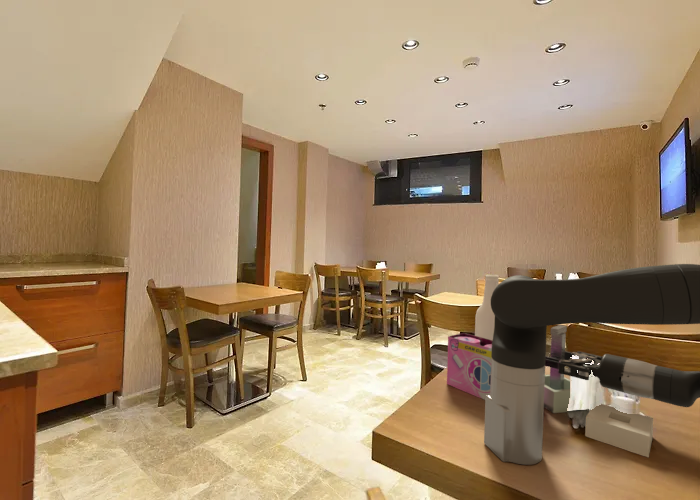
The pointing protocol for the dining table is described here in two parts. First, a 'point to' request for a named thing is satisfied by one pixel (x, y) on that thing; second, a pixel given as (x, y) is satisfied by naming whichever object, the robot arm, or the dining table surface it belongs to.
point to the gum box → (469, 364)
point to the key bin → (556, 396)
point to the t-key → (557, 355)
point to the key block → (620, 429)
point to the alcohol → (486, 310)
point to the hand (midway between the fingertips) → (548, 356)
